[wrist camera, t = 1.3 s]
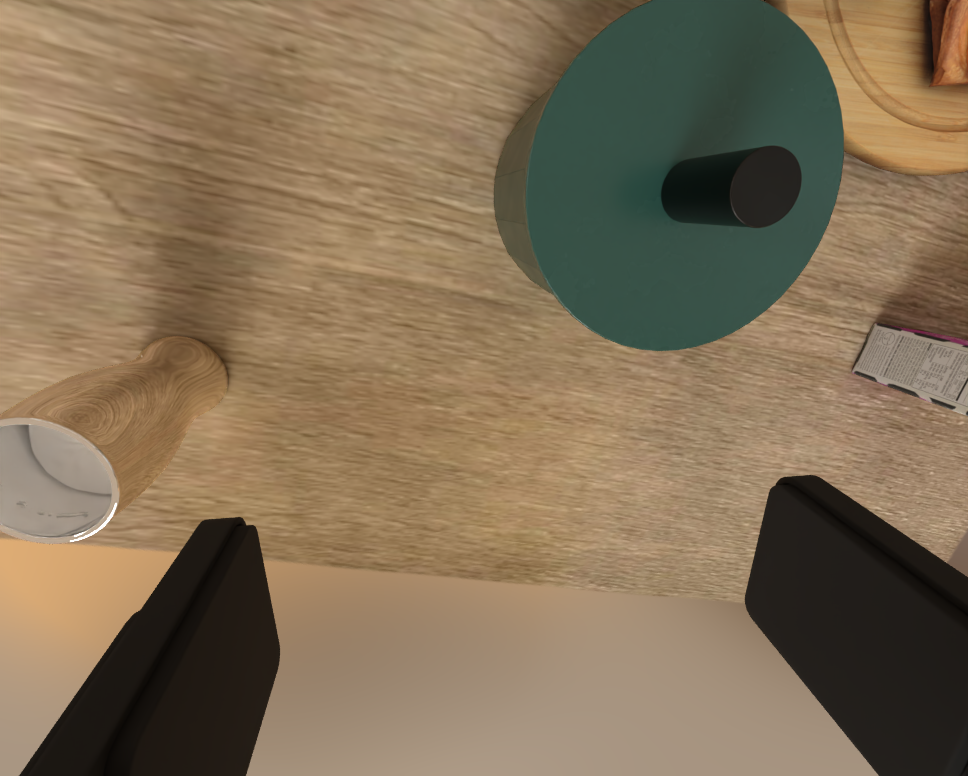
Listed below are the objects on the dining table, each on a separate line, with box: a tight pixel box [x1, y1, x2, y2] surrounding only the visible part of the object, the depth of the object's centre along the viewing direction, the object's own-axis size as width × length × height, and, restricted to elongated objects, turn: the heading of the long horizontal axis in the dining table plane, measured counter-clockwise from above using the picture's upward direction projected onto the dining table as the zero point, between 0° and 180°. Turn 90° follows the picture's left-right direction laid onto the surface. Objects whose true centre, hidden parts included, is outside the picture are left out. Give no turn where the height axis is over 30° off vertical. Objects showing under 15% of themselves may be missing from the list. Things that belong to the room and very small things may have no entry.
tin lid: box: [524, 0, 844, 351], centre depth 21 cm, size 16×16×7 cm
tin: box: [494, 85, 555, 295], centre depth 29 cm, size 15×15×13 cm
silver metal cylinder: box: [0, 336, 228, 544], centre depth 29 cm, size 7×7×15 cm
